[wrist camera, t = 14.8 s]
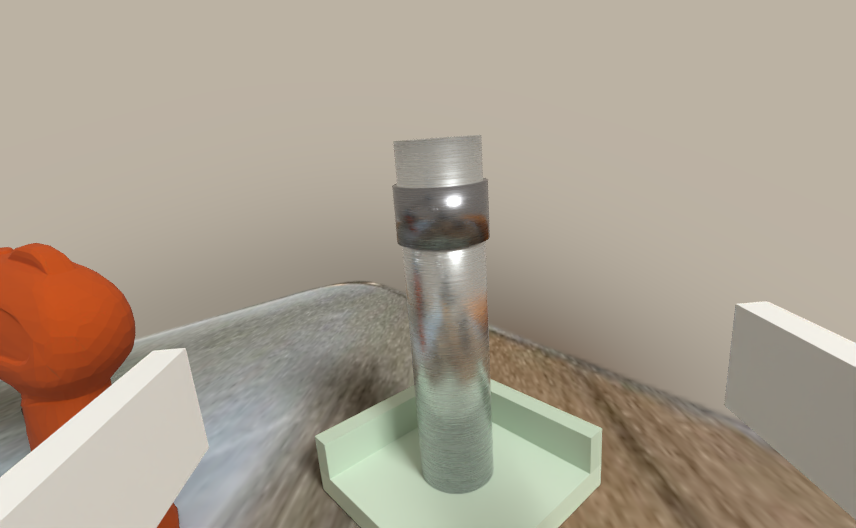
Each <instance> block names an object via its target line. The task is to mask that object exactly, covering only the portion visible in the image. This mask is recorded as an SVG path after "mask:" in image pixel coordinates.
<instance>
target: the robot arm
mask: <svg viewBox="0 0 856 528" xmlns="http://www.w3.org/2000/svg"><path fill="white" fill-rule="evenodd" d="M724 405H725V406H726V407H727V408H728V409H729V410H730V411H731V412H733V413H734V414H735V415H736V416H737V417H738V418H739V419H741V420H742V421H743V422H744V423H745V424H746V425H747V426H749V427H750V428H751V429H752V430H753V431H754V432H756V433H757V434H758V435H759V436H760V437H761V438H762V439H764V440H765V441H766V442H767V443H768V444H769V445H770V446H772V447H773V448H774V449H775V450H776V451H777V452H778V453H780V454H781V455H782V456H783V457H784V458H785V459H786V460H788V461H789V462H790V463H791V464H792V465H793V466H794V467H796V468H797V469H798V470H799V471H800V472H801V473H802V474H804V475H805V476H806V477H807V478H808V479H809V480H811V481H812V482H813V483H814V484H815V485H816V486H817V487H819V488H820V489H821V490H822V491H823V492H824V493H825V494H827V495H828V496H829V497H830V498H831V499H832V500H833V501H835V502H836V503H837V504H838V505H839V506H840V507H841V508H843V509H844V510H845V511H846V512H847V513H848V514H849V515H851V516H852V517H853V518H854V519H855V520H856V343H855V342H852V341H850V340H848V339H846V338H844V337H842V336H840V335H838V334H835V333H833V332H831V331H829V330H827V329H825V328H823V327H821V326H818V325H816V324H814V323H812V322H810V321H808V320H806V319H804V318H802V317H799V316H797V315H795V314H793V313H791V312H789V311H787V310H785V309H783V308H780V307H778V306H776V305H774V304H772V303H770V302H768V301H767V302H754V303H743V304H742V303H741V304H736V305H735V314H734V323H733V332H732V341H731V350H730V359H729V367H728V376H727V385H726V394H725V404H724ZM208 448H209V445H208V441H207V437H206V433H205V428H204V424H203V420H202V416H201V411H200V407H199V403H198V399H197V395H196V390H195V386H194V382H193V378H192V373H191V369H190V365H189V361H188V356H187V352H186V348H181V349H168V350H156V351H152V352H151V353H150V354H149V355H147V356H146V357H145V358H144V359H142V360H141V361H140V362H139V363H138V364H136V365H135V366H134V367H133V368H132V369H130V370H129V371H128V372H127V373H126V374H124V375H123V376H122V377H121V378H120V379H118V380H117V381H116V382H115V383H114V384H112V385H111V386H110V387H109V388H108V389H106V390H105V391H104V392H103V393H101V394H100V395H99V396H98V397H97V398H95V399H94V400H93V401H92V402H91V403H89V404H88V405H87V406H86V407H85V408H83V409H82V410H81V411H80V412H79V413H77V414H76V415H75V416H74V417H73V418H71V419H70V420H69V421H68V422H66V423H65V424H64V425H63V426H62V427H60V428H59V429H58V430H57V431H56V432H54V433H53V434H52V435H51V436H50V437H48V438H47V439H46V440H45V441H44V442H42V443H41V444H40V445H39V446H38V447H36V448H35V449H34V450H33V451H32V452H30V453H29V454H28V455H27V456H25V457H24V458H23V459H22V460H21V461H19V462H18V463H17V464H16V465H15V466H13V467H12V468H11V469H10V470H9V471H7V472H6V473H5V474H4V475H3V476H1V477H0V528H157V526H158V525H159V523H160V522H161V520H162V519H163V517H164V515H165V514H166V512H167V511H168V509H169V508H170V506H171V505H172V503H173V502H174V500H175V499H176V497H177V496H178V494H179V493H180V491H181V490H182V488H183V486H184V485H185V483H186V482H187V480H188V479H189V477H190V476H191V474H192V473H193V471H194V470H195V468H196V467H197V465H198V464H199V462H200V461H201V459H202V457H203V456H204V454H205V453H206V451H207V450H208Z"/></svg>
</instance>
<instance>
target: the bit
mask: <svg viewBox="0 0 856 528" xmlns="http://www.w3.org/2000/svg"><path fill="white" fill-rule="evenodd" d="M393 143H394V155H395V166H396V178H397V184H395V185H393V186H392V187H393V198H394V209H395V221H396V231H397V242H398V244H399V245H401V246H402V247H403V258H404V270H405V281H406V293H407V305H408V316H409V328H410V340H411V351H412V363H413V374H414V386H415V397H416V409H417V420H418V432H419V443H420V455H421V467H422V474H423V477H424V479H425V481H426V482H427V483H428V484H429V485H430V486H432V487H433V488H435V489H437V490H439V491H441V492H445V493H450V494H464V493H469V492H473V491H475V490H478V489H480V488H481V487H483V486H484V485H485V484H487V483H488V481H489V480H490V479H491V477H492V475H493V471H494V464H493V438H492V411H491V384H490V357H489V330H488V304H487V276H486V251H485V241H486V240H488V239H489V237H490V233H489V203H488V179H486V178H483V170H482V143H481V135H475V136H459V137H445V138H430V139H417V140H404V141H394V142H393Z"/></svg>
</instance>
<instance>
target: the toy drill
mask: <svg viewBox="0 0 856 528" xmlns="http://www.w3.org/2000/svg"><path fill="white" fill-rule="evenodd" d="M134 340H135V321H134V317H133V313H132V310H131V307H130V305H129V303H128V302H127V300H126V298H125V296H124V294H122V292H121V291H120V290H119V289H118V288H117V287H116V286H115V285H114V284H113V283H111V282H110V281H109V280H107V279H106V278H104V277H103V276H101V275H100V274H99V273H97V272H95V271H93V270H91V269H89V268H87V267H84V266H82V265H78V264H76V263H74V262H72V261H70V260H69V259H68V258H67V257H66V256H65V255H64V254H63V253H61V252H60V251H58V250H56V249H55V248H53V247H51V246H49V245H44V244H39V243H33V244H28V245H25V246H22V247H19V248H15V249H14V250H13V249H12V248H9V247H4V248H0V379H1V380H3V381H4V382H6V383H8V384H9V385H11V386H13V387H14V388H15V389H16V390H17V391H18V392H19V393H21V398H22V401H21V407H22V409H21V410H22V413H23V415H24V419H25V423H26V432H27V436H28V440H29V444H30V448H31V452H32V451H33V450H34V449H35V448H36V447H38V446H39V445H40V444H41V443H42V442H44V441H45V440H46V439H47V438H48V437H50V436H51V435H52V434H53V433H54V432H56V431H57V430H58V429H59V428H60V427H62V426H63V425H64V424H65V423H66V422H68V421H69V420H70V419H71V418H73V417H74V416H75V415H76V414H77V413H79V412H80V411H81V410H82V409H83V408H85V407H86V406H87V405H88V404H89V403H91V402H92V401H93V400H94V399H95V398H97V397H98V396H99V395H100V394H101V393H103V392H104V391H105V390H106V389H108V388H109V387H110V386H111V385H112V384H111V379H110V378H111V376H112V375H113V374H114V373H115V372H116V370H117V369H118V368H119V367H120V366H121V364H122V363H123V362H124V361H125V359H126V358H127V356H128V355H129V354H130V352H131V351H132V348H133V345H134ZM157 528H179V519H178V511H177V507H176V506H175V504H174V503H172V505H171V506H170V508H169V509H168V511H167V512H166V514H165V515H164V517H163V519H162V520H161V522H160V523H159V525H158V526H157Z"/></svg>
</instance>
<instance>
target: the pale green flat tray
mask: <svg viewBox="0 0 856 528" xmlns="http://www.w3.org/2000/svg"><path fill="white" fill-rule="evenodd" d="M490 384H491V411H492V438H493V464H494V471H493V475H492V477H491V479H490V480H489V481H488V483H487V484H485V485H484V486H483V487H481V488H480V489H478V490H475V491H473V492H469V493H464V494H450V493H445V492H441V491H439V490H437V489H435V488H433V487H432V486H430V485H429V484H428V483H427V482H426V481H425V479H424V477H423V474H422V467H421V455H420V443H419V432H418V420H417V409H416V397H415V386H414V385H413V386H411V387H409V388H407V389H405V390H403V391H401V392H399V393H398V394H396V395H394V396H392V397H390V398H388V399H386V400H384V401H382V402H380V403H378V404H376V405H374V406H372V407H370V408H369V409H367V410H365V411H363V412H361V413H359V414H357V415H355V416H353V417H351V418H349V419H347V420H345V421H343V422H341V423H339V424H338V425H336V426H334V427H332V428H330V429H328V430H326V431H324V432H322V433H320V434H318V435H316V436H315V441H316V447H317V453H318V459H319V466H320V472H321V478H322V484H323V489H324V490H325V491H326V492H327V493H328V494H329V495H330V496H331V497H332V498H333V499H334V500H335V501H336V503H337V504H338V505H339V506H340V507H341V508H342V509H343V510H344V511H345V512H346V513H347V514H348V515H349V516H350V517H351V518H352V519H353V520H354V521H355V522H356V523H357V524H358V525H359V526H360V527H361V528H558V527H559V526H560V525H561V524H562V523H563V522H564V521H565V520H566V519H567V518H568V517H569V516H570V515H571V514H572V513H573V512H574V511H575V510H576V509H577V508H578V507H579V506H580V504H581V503H582V502H583V501H584V500H585V499H586V498H587V497H588V496H589V495H590V494H591V493H592V492H593V491H594V490H595V489H596V488H597V487H598V486H599V485H600V483H601V449H602V428H600V427H598V426H595V425H593V424H591V423H589V422H586V421H584V420H582V419H579V418H577V417H575V416H573V415H570V414H568V413H566V412H564V411H561V410H559V409H557V408H555V407H552V406H550V405H548V404H546V403H543V402H541V401H539V400H537V399H534V398H532V397H530V396H528V395H525V394H523V393H521V392H519V391H516V390H514V389H512V388H509V387H507V386H505V385H503V384H500V383H498V382H496V381H494V380H491V379H490Z"/></svg>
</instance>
